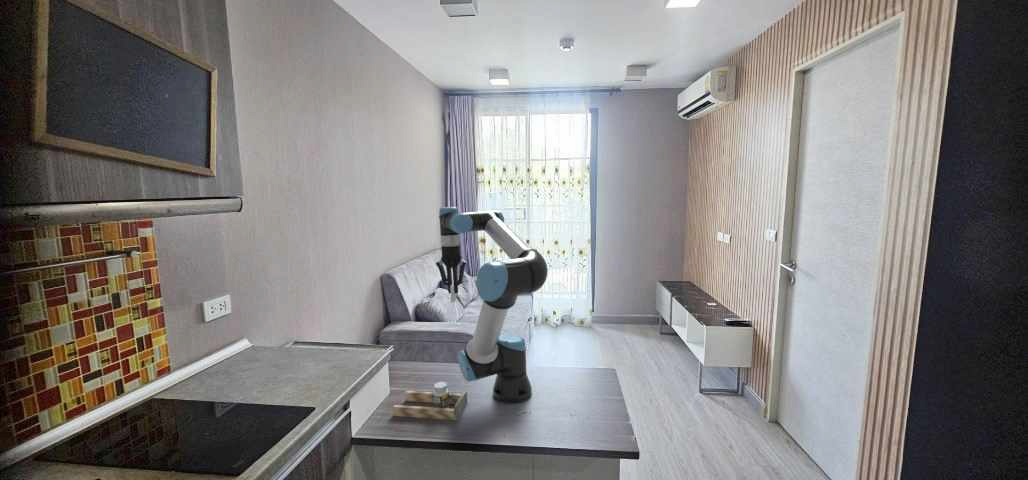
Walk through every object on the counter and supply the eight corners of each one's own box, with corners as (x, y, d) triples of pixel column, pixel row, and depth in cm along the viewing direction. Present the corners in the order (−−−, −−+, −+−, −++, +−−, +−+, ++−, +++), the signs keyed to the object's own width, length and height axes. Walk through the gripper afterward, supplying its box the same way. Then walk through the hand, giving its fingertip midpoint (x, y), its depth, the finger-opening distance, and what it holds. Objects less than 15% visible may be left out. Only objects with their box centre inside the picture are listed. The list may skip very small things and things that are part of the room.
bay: (467, 402, 151) (466, 390, 150) (458, 420, 139) (457, 406, 139) (407, 399, 155) (406, 387, 154) (393, 415, 144) (392, 402, 143)
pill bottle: (445, 415, 143) (444, 389, 141) (431, 413, 144) (429, 387, 143) (452, 407, 148) (450, 381, 147) (438, 405, 150) (436, 380, 148)
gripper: (468, 243, 165) (471, 298, 168) (438, 243, 167) (441, 298, 170) (463, 246, 158) (466, 303, 161) (432, 246, 160) (435, 303, 163)
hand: (453, 300), depth 165 cm, fingers closed
